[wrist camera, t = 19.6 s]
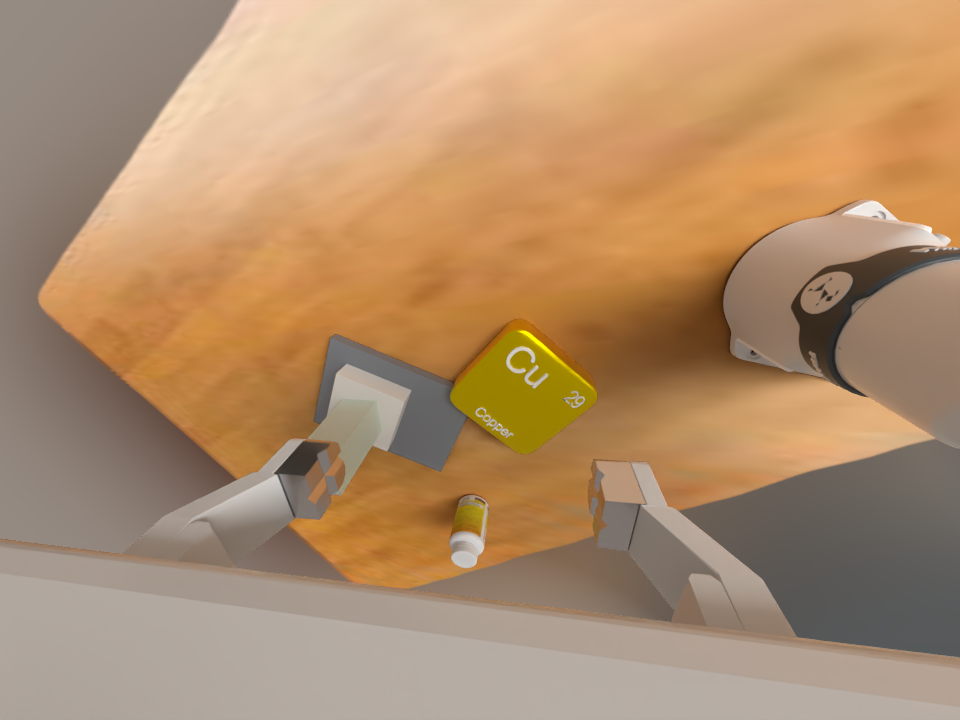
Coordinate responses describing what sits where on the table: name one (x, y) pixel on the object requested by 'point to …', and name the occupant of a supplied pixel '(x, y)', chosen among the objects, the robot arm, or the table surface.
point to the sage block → (351, 433)
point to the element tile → (523, 388)
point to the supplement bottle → (469, 530)
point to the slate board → (421, 408)
